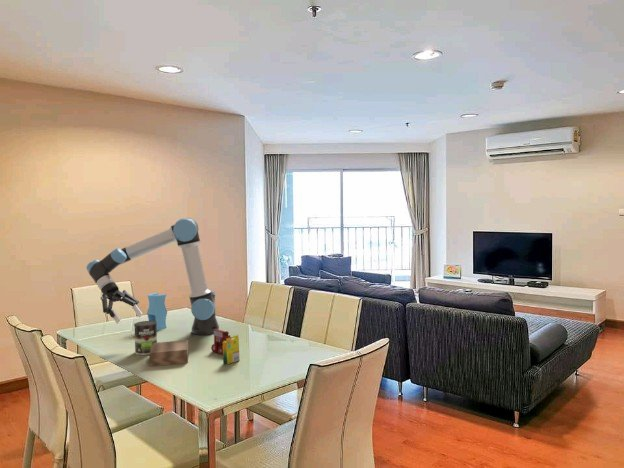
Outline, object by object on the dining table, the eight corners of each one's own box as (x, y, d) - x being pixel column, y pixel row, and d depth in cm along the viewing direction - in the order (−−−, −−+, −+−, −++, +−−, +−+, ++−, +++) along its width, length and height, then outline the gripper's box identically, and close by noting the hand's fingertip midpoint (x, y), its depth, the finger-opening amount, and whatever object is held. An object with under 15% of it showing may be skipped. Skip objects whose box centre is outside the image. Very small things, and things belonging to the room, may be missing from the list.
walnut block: (188, 352, 222) (188, 340, 222) (187, 363, 206) (187, 349, 206) (153, 355, 218) (153, 342, 218) (149, 366, 203) (149, 352, 202)
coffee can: (158, 353, 222) (157, 324, 221) (135, 356, 217) (134, 326, 217) (156, 347, 231) (155, 319, 230) (134, 350, 227) (133, 322, 226)
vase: (167, 327, 270) (166, 293, 269) (156, 330, 264) (155, 296, 263) (158, 326, 275) (157, 292, 274) (147, 329, 268) (146, 295, 267)
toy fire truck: (225, 356, 215) (225, 334, 215) (209, 351, 223) (208, 330, 222) (237, 352, 220) (236, 331, 220) (220, 348, 228) (219, 327, 228)
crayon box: (235, 359, 211) (234, 333, 210) (239, 360, 209) (239, 334, 208) (222, 363, 205) (222, 337, 204) (227, 364, 203) (226, 338, 202)
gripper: (124, 287, 246) (145, 317, 240) (82, 295, 224) (105, 329, 218) (131, 278, 244) (153, 308, 238) (89, 285, 221) (112, 319, 215)
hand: (130, 318), depth 228 cm, fingers open, 13 cm apart
